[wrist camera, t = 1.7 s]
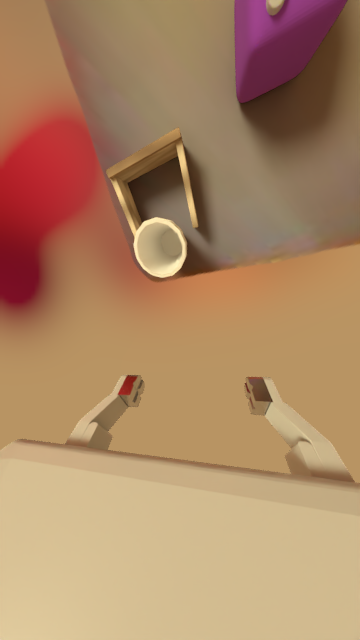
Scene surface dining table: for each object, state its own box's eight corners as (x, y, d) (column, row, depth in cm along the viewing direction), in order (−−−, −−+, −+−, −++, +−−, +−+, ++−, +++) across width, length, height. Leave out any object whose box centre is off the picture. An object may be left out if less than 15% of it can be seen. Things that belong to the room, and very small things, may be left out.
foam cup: (148, 246, 36) (125, 255, 25) (167, 209, 31) (148, 202, 20) (177, 269, 38) (167, 286, 28) (199, 239, 33) (197, 245, 23)
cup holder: (198, 226, 32) (197, 226, 27) (146, 245, 36) (138, 248, 31) (183, 144, 25) (178, 126, 20) (121, 178, 29) (105, 170, 24)
